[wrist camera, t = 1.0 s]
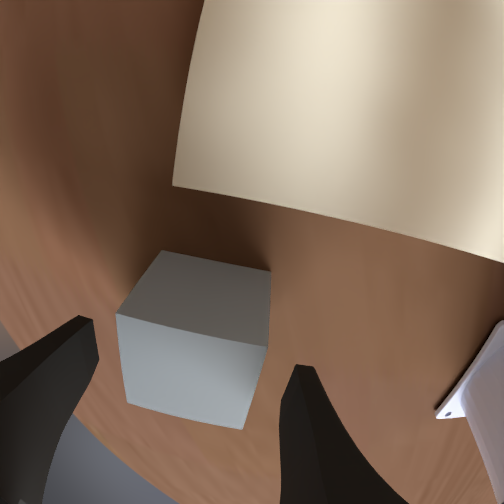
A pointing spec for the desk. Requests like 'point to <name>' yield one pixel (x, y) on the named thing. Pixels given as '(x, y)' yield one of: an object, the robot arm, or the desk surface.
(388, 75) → the birch block
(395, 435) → the desk surface
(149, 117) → the desk surface
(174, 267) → the slate cube
